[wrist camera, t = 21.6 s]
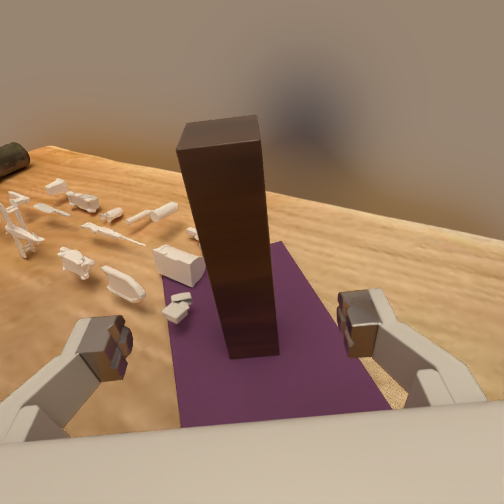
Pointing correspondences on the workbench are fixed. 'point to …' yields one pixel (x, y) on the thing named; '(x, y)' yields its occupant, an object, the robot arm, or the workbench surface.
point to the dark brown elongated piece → (12, 158)
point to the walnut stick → (233, 228)
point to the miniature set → (120, 284)
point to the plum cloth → (266, 359)
